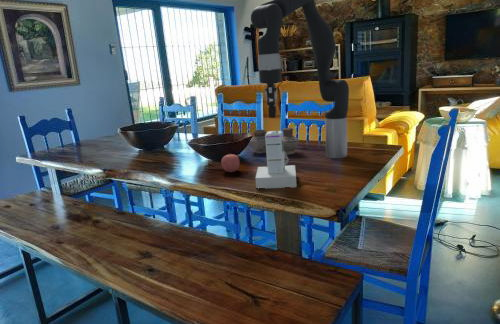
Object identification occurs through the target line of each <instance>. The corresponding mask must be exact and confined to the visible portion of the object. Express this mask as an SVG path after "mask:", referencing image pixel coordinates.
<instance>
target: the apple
mask: <svg viewBox="0 0 500 324" xmlns="http://www.w3.org/2000/svg"><path fill="white" fill-rule="evenodd" d="M220 162H221V164H220V165H221V167H222V169H223V170H224V171H225V172H228V173H233V172H236V171H237V170H238V168H240V167H239V166H240V158H239V157H238V155H236V154H232V153H228V154H226V155H224V156H222V158H221V161H220Z"/></svg>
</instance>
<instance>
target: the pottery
mask: <svg viewBox="0 0 500 324" xmlns="http://www.w3.org/2000/svg"><path fill="white" fill-rule="evenodd" d="M293 131H294V128H293V127H286V128H285V127H284V128H282V133H283V146H284V151H285V150H286V151H285V152H286V154H287V155H293V154H296V152H295V151H296V149H297V148H298V145H299V141H300V140H299V138H298V137H296V136H294V135H293ZM266 133H267V130H266V129H256V130H254V131H253V135H254V136H253V137H252V138H250V139H251V140H250V139H249V140H250V142H249V144H250V147H251V148H252V149H253V150H255V151H254V152H255V154H266V141H265V134H266Z"/></svg>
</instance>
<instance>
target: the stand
mask: <svg viewBox="0 0 500 324" xmlns="http://www.w3.org/2000/svg"><path fill="white" fill-rule="evenodd" d="M285 187H290V188H297V172H296V165H295V164H294V165H293V164H292V165H286V166H285V170H284V173H279V174H269V173H268V167H267V166H257V170H256V173H255V189H256V188H258V189H257V190H259V188H265V189H283V188H285ZM285 189H286V188H285Z"/></svg>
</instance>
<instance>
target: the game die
mask: <svg viewBox="0 0 500 324" xmlns="http://www.w3.org/2000/svg"><path fill="white" fill-rule="evenodd" d="M285 151H286V150H285ZM285 151H284V161H285V166H288V165H287V164H289V162H291V161H292V160H291V159H289V157H288V154H286V152H285Z"/></svg>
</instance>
